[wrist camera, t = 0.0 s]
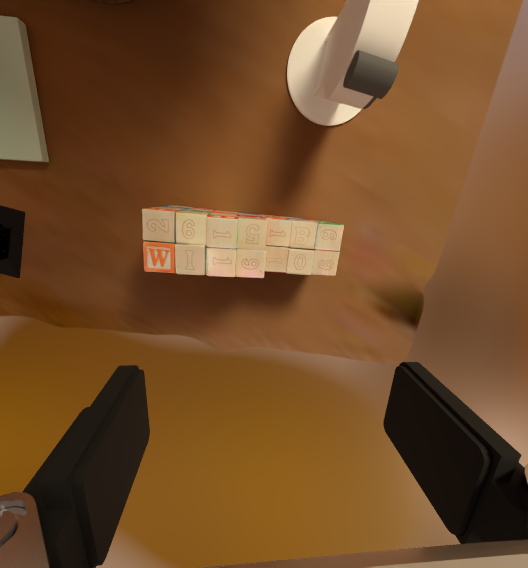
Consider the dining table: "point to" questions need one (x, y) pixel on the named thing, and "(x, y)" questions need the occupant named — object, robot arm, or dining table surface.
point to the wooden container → (114, 1)
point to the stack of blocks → (237, 243)
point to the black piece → (11, 240)
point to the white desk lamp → (348, 59)
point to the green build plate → (19, 97)
